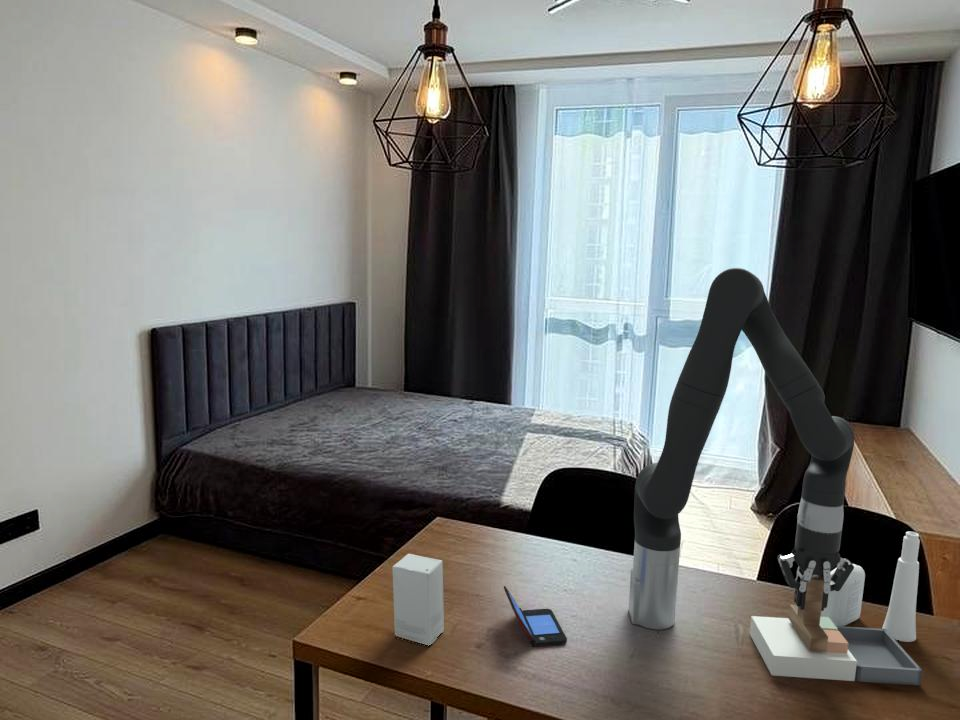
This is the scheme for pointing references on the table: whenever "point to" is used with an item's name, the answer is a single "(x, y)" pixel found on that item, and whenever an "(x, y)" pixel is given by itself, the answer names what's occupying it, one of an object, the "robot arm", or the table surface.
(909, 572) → the cosmetic bottle
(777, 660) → the off-white plate
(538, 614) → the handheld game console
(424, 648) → the table surface
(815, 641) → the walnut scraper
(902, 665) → the box
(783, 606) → the table surface
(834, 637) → the terracotta tile
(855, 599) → the photo printer
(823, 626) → the sage-green tile
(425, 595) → the skincare box
